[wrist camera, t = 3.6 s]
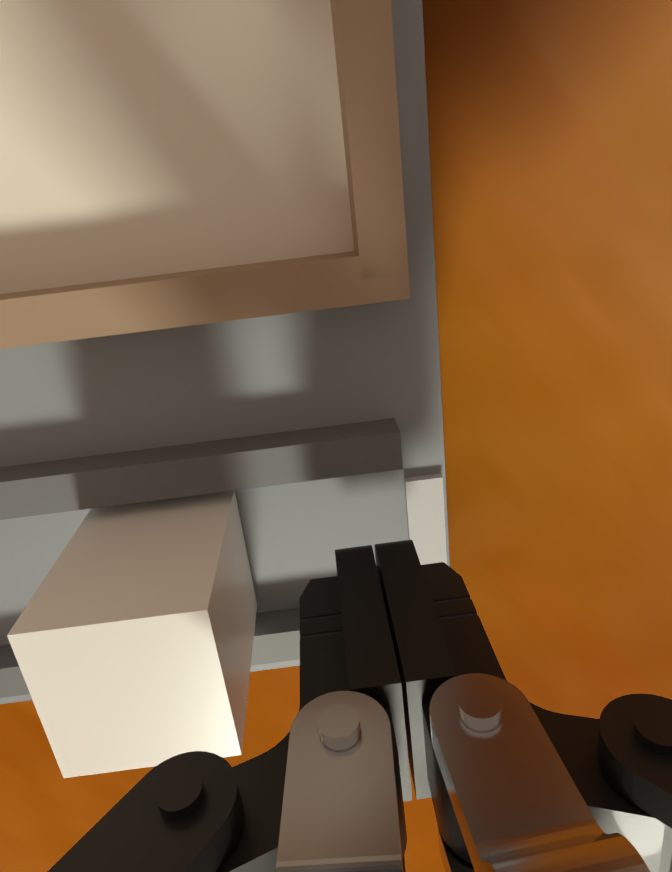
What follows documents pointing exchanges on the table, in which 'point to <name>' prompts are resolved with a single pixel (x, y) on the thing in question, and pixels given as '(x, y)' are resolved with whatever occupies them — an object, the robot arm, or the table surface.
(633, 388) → the table surface
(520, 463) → the table surface
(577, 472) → the table surface
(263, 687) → the table surface
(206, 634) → the switch tab
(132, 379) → the switch board
